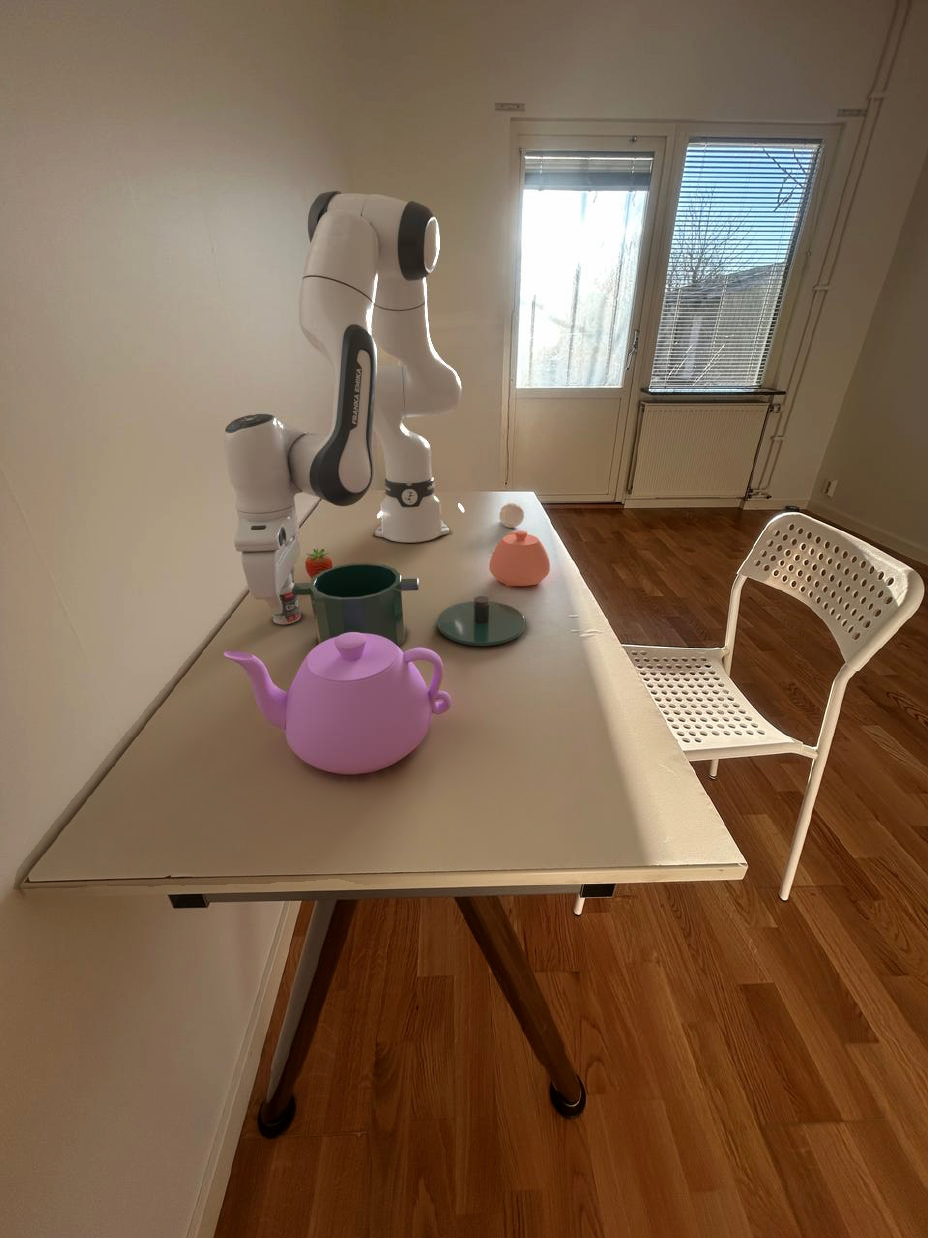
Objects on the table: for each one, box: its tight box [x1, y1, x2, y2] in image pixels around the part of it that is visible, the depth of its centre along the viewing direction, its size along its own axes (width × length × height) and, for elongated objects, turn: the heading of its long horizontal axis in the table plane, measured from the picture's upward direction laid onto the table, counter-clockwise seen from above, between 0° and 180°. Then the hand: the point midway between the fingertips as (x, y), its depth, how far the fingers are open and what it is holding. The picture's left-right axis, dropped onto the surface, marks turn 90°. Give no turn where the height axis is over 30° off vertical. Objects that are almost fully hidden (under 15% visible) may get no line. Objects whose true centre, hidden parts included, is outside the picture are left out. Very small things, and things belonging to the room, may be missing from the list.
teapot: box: [223, 632, 452, 776], centre depth 61 cm, size 25×18×14 cm
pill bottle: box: [271, 573, 301, 625], centre depth 89 cm, size 5×5×8 cm
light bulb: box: [498, 502, 525, 529], centre depth 137 cm, size 7×7×11 cm
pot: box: [292, 562, 419, 648], centre depth 83 cm, size 14×19×10 cm
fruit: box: [304, 548, 334, 579], centre depth 102 cm, size 5×5×8 cm
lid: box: [437, 595, 526, 647], centre depth 87 cm, size 15×15×5 cm
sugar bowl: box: [488, 529, 551, 588], centre depth 104 cm, size 12×14×10 cm
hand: (284, 600), depth 89 cm, fingers open, 8 cm apart
